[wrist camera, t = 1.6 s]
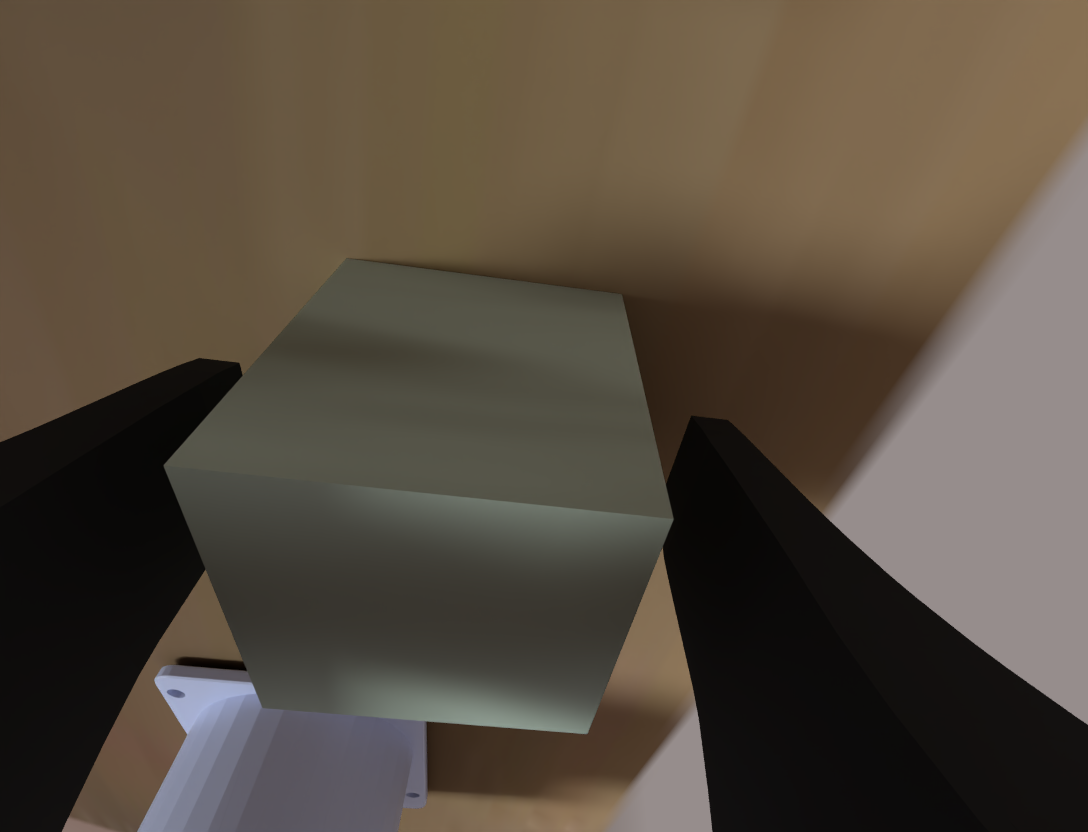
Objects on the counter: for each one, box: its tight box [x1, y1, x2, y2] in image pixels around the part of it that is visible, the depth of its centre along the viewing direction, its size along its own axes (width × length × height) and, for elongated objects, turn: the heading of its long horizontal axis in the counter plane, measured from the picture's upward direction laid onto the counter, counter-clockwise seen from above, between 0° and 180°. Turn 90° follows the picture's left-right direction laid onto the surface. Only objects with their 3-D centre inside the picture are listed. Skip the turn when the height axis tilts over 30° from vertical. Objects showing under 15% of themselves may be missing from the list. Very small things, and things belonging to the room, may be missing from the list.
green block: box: [163, 258, 673, 734], centre depth 8 cm, size 4×4×5 cm
